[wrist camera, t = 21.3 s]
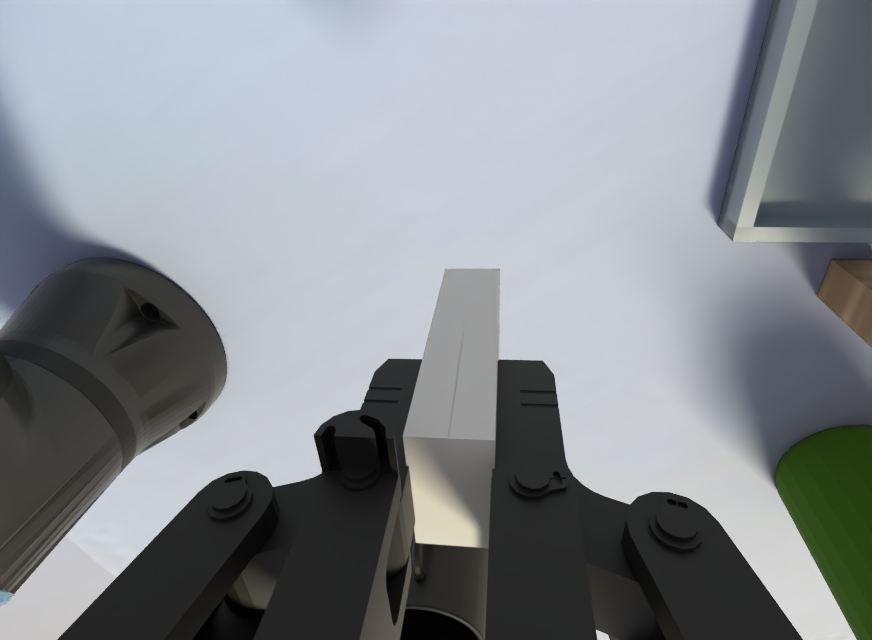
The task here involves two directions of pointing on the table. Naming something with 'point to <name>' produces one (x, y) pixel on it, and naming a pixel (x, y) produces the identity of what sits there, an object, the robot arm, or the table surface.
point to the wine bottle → (835, 513)
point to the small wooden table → (850, 294)
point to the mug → (446, 593)
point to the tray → (807, 129)
